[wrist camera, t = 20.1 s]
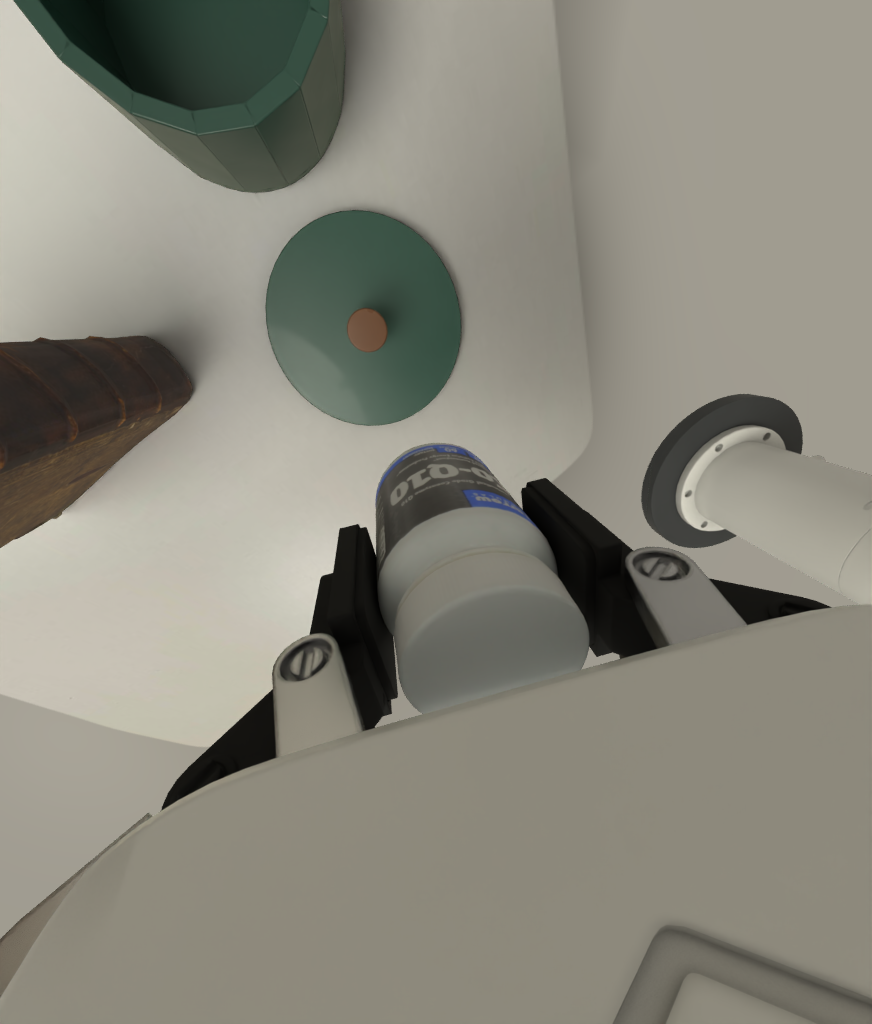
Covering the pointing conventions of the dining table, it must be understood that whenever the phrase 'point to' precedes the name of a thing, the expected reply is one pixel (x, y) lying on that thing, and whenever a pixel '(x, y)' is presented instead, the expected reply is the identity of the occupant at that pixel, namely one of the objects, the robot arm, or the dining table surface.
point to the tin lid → (363, 317)
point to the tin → (212, 77)
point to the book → (75, 418)
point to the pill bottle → (467, 583)
